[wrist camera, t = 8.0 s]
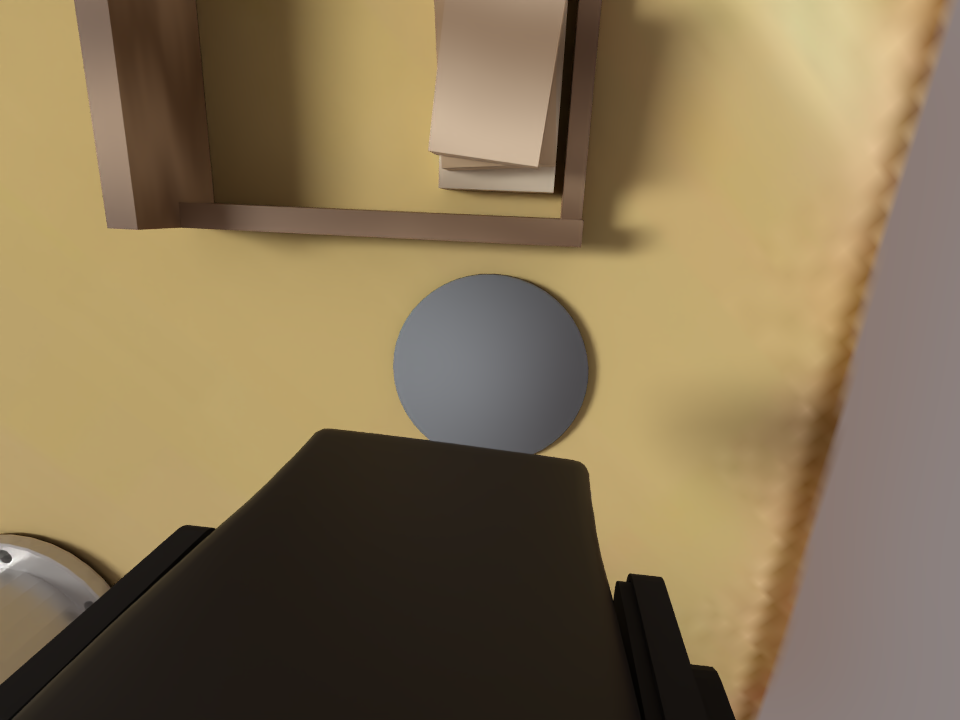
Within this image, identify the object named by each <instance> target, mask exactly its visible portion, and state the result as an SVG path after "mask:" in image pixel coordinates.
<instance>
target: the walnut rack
mask: <svg viewBox="0 0 960 720" xmlns="http://www.w3.org/2000/svg"><path fill="white" fill-rule="evenodd" d="M74 2H75V9H76V16H77V23H78V30H79V37H80V43H81V50H82V57H83V64H84V71H85V77H86V84H87V91H88V98H89V105H90V112H91V118H92V125H93V132H94V139H95V146H96V152H97V159H98V166H99V173H100V180H101V187H102V193H103V200H104V207H105V214H106V221H107V228H114V229H134V230H141V229H162V228H201V229H221V230H242V231H262V232H282V233H302V234H323V235H343V236H363V237H383V238H404V239H424V240H444V241H464V242H485V243H505V244H525V245H546V246H566V247H581V244H582V233H583V222H584V220H582V212H583V201H584V190H585V179H586V168H587V157H588V146H589V135H590V124H591V113H592V102H593V91H594V80H595V69H596V58H597V47H598V36H599V25H600V14H601V3H602V0H578V4H577V16H576V28H575V41H574V53H573V66H572V78H571V91H570V103H569V116H568V128H567V141H566V153H565V166H564V178H563V191H562V203H561V216H560V218H538V217H516V216H493V215H471V214H448V213H426V212H403V211H381V210H358V209H336V208H313V207H290V206H268V205H245V204H223V203H214V193H213V182H212V171H211V161H210V150H209V139H208V128H207V117H206V106H205V95H204V84H203V73H202V63H201V52H200V41H199V30H198V19H197V8H196V0H74Z"/></svg>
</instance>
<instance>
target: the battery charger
mask: <svg viewBox="0 0 960 720" xmlns="http://www.w3.org/2000/svg"><path fill="white" fill-rule="evenodd" d="M12 720H641V716H640V711H639V707H638V703H637V698H636V694H635V690H634V685H633V681H632V677H631V673H630V669H629V664H628V660H627V656H626V652H625V648H624V644H623V640H622V635H621V631H620V627H619V623H618V619H617V615H616V611H615V607H614V603H613V598H612V595H611V591H610V587H609V584H608V580H607V576H606V573H605V569H604V565H603V561H602V558H601V553H600V548H599V543H598V538H597V533H596V526H595V519H594V512H593V507H592V500H591V491H590V482H589V473H588V471H587V468H586V467H585V465H583V464H582V463H581V462H578V461H574V460H569V459H562V458H555V457H548V456H541V455H535V454H528V453H521V452H513V451H506V450H498V449H491V448H484V447H476V446H469V445H462V444H454V443H447V442H438V441H430V440H422V439H414V438H406V437H398V436H390V435H382V434H373V433H364V432H356V431H347V430H338V429H322V430H320V431H318V432H316V433H315V434H314V435H313V436H312V437H311V438H310V439H309V441H308V442H307V443H306V444H305V445H304V446H303V447H302V448H301V449H300V450H299V451H298V452H297V453H296V454H295V456H294V457H293V458H292V459H291V460H290V461H288V462H287V463H286V464H285V465H284V466H283V467H282V468H281V469H280V470H279V471H278V472H277V474H276V475H275V476H274V477H273V478H272V479H271V480H270V481H269V482H268V483H267V484H266V485H265V486H263V487H262V488H261V489H260V490H259V491H258V492H257V493H256V494H255V495H254V496H253V497H252V498H251V499H250V500H249V501H247V502H246V503H245V504H244V505H243V506H242V507H241V508H240V509H238V510H237V511H236V512H235V513H234V514H233V515H231V516H230V517H229V518H228V519H227V520H226V521H225V522H223V523H222V524H221V525H220V526H219V527H218V528H216V529H215V530H214V531H213V532H212V533H211V534H210V535H209V536H208V537H206V538H205V539H204V540H203V541H202V542H201V543H200V544H199V545H198V546H196V547H195V548H194V549H193V550H192V551H191V552H190V553H189V554H187V555H186V556H185V557H184V558H183V559H182V560H181V561H180V562H179V563H178V564H177V565H175V566H174V567H173V568H172V569H171V570H170V571H169V572H168V573H166V574H165V575H164V576H163V577H162V578H161V579H160V580H159V581H158V582H157V583H155V584H154V585H153V586H152V587H151V588H150V589H149V590H148V591H147V592H146V593H144V594H143V595H142V596H141V597H140V598H139V599H138V600H137V601H136V602H135V603H133V604H132V605H131V606H130V607H129V608H128V609H127V610H126V611H125V612H124V613H122V614H121V615H120V616H119V617H118V618H117V619H116V620H115V621H114V622H113V623H112V624H111V625H110V626H109V627H108V628H107V629H105V630H104V631H103V632H102V633H101V634H100V635H99V636H98V637H97V638H96V639H95V640H94V641H93V642H92V643H91V644H90V645H89V646H87V647H86V648H85V649H84V650H83V651H82V652H81V653H80V654H79V655H78V656H77V657H76V658H75V659H74V660H73V661H72V662H71V663H69V664H68V665H67V666H66V667H65V668H64V669H63V670H62V671H61V672H60V673H59V674H58V675H57V676H56V677H55V678H54V679H53V680H52V681H51V682H50V683H48V684H47V685H46V686H45V687H44V688H43V689H42V690H41V691H40V692H39V693H38V694H37V695H36V696H35V697H34V698H33V699H32V700H31V701H30V702H29V703H28V704H27V705H26V706H25V707H24V708H23V709H22V710H21V711H20V712H19V713H18V714H17V715H16V716H15V717H14V718H13V719H12Z"/></svg>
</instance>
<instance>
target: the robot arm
mask: <svg viewBox="0 0 960 720" xmlns="http://www.w3.org/2000/svg"><path fill="white" fill-rule="evenodd" d="M214 530H215V528H209V527H200V526H191V525H185V526H182V527H180V528H179V529H178V530H176V531H175V532H174V533H173V534H172V535H171V536H170V537H168V538H167V539H166V540H165V541H164V542H163V543H162V544H160V545H159V546H158V547H157V548H156V549H155V550H154V551H152V552H151V553H150V554H149V555H148V556H147V557H146V558H144V559H143V560H142V561H141V562H140V563H139V564H138V565H136V566H135V567H134V568H133V569H132V570H131V571H130V572H128V573H127V574H126V575H125V576H124V577H123V578H122V579H120V580H119V581H118V582H117V583H116V584H115V585H114V586H112V587H110V586H109V585H108V584H107V583H106V581H105V580H104V579H103V578H102V577H101V576H100V575H99V574H97V573H96V572H95V571H94V570H93V569H92V568H91V567H90V566H89V565H87V564H86V563H84V562H83V561H81V560H80V559H79V558H77V557H76V556H74V555H73V554H71V553H69V552H67V551H65V550H63V549H61V548H59V547H57V546H55V545H53V544H51V543H48V542H44V541H41V540H38V539H35V538H32V537H26V536H19V535H13V534H9V535H0V720H12V719H13V718H14V717H15V716H16V715H17V714H18V713H19V712H20V711H21V710H22V709H23V708H24V707H25V706H26V705H27V704H28V703H29V702H30V701H31V700H32V699H33V698H34V697H35V696H36V695H37V694H38V693H39V692H40V691H41V690H42V689H43V688H44V687H45V686H46V685H47V684H48V683H50V682H51V681H52V680H53V679H54V678H55V677H56V676H57V675H58V674H59V673H60V672H61V671H62V670H63V669H64V668H65V667H66V666H67V665H68V664H69V663H71V662H72V661H73V660H74V659H75V658H76V657H77V656H78V655H79V654H80V653H81V652H82V651H83V650H84V649H85V648H86V647H87V646H89V645H90V644H91V643H92V642H93V641H94V640H95V639H96V638H97V637H98V636H99V635H100V634H101V633H102V632H103V631H104V630H105V629H107V628H108V627H109V626H110V625H111V624H112V623H113V622H114V621H115V620H116V619H117V618H118V617H119V616H120V615H121V614H122V613H124V612H125V611H126V610H127V609H128V608H129V607H130V606H131V605H132V604H133V603H135V602H136V601H137V600H138V599H139V598H140V597H141V596H142V595H143V594H144V593H146V592H147V591H148V590H149V589H150V588H151V587H152V586H153V585H154V584H155V583H157V582H158V581H159V580H160V579H161V578H162V577H163V576H164V575H165V574H166V573H168V572H169V571H170V570H171V569H172V568H173V567H174V566H175V565H177V564H178V563H179V562H180V561H181V560H182V559H183V558H184V557H185V556H186V555H187V554H189V553H190V552H191V551H192V550H193V549H194V548H195V547H196V546H198V545H199V544H200V543H201V542H202V541H203V540H204V539H205V538H206V537H208V536H209V535H210V534H211V533H212V532H213V531H214ZM613 603H614V607H615V611H616V615H617V619H618V623H619V627H620V631H621V635H622V640H623V644H624V648H625V652H626V656H627V660H628V664H629V669H630V673H631V677H632V681H633V685H634V690H635V694H636V698H637V703H638V707H639V711H640V716H641V720H736V719H735V717H734V714H733V711H732V709H731V706H730V703H729V701H728V698H727V695H726V692H725V690H724V687H723V684H722V682H721V679H720V677H719V675H718V673H717V671H716V670H715V669H714V668H713V667H708V666H700V665H692V664H690V661H689V658H688V655H687V652H686V649H685V646H684V642H683V639H682V636H681V633H680V630H679V627H678V623H677V620H676V617H675V614H674V611H673V608H672V605H671V601H670V598H669V595H668V592H667V589H666V586H665V583H664V580H663V578H662V577H657V576H648V575H639V574H629V575H628V577H627V582H623V581H617V582H616V586H615V592H614V600H613Z"/></svg>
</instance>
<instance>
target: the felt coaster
mask: <svg viewBox="0 0 960 720" xmlns="http://www.w3.org/2000/svg"><path fill="white" fill-rule="evenodd" d="M393 369H394V380H395V385H396V390H397V393H398V396H399V399H400V401H401V403H402V405H403V407H404V410H405V412H406V413H407V415H408V416H409V418H410V419H411V421H412V422H413V423H414V425H415V426H416V427H417V428H418V429H419V430H420V432H422V433H423V434H424V435H425V436H426V437H427V438H428V439H429V440H431V441H438V442H447V443H454V444H462V445H469V446H476V447H484V448H491V449H498V450H506V451H513V452H521V453H528V454H534V453H536V452H538V451H540V450H542V449H544V448H546V447H547V446H549V445H550V444H552V443H553V442H554V441H555V440H556V439H558V438H559V437H560V436H561V435H562V434H563V433H564V432H565V431H566V430H567V428H568V427H569V426H570V425H571V423H572V422H573V420H574V419H575V417H576V416H577V414H578V412H579V410H580V407H581V405H582V403H583V400H584V397H585V393H586V388H587V383H588V361H587V354H586V350H585V346H584V342H583V339H582V337H581V334H580V332H579V329H578V327H577V326H576V324H575V322H574V320H573V319H572V317H571V316H570V315H569V313H568V312H567V311H566V309H565V308H564V307H563V306H562V305H561V304H560V303H559V302H558V301H557V300H556V299H555V298H554V297H552V296H551V295H550V294H548V293H547V292H546V291H544V290H543V289H541V288H539V287H537V286H536V285H534V284H532V283H529V282H527V281H524V280H522V279H519V278H515V277H511V276H507V275H499V274H478V275H471V276H466V277H463V278H459V279H456V280H454V281H451V282H449V283H447V284H444V285H443V286H441V287H439V288H438V289H436V290H435V291H433V292H432V293H430V294H429V295H428V296H427V297H425V298H424V299H423V300H422V301H421V302H420V303H419V304H418V305H417V306H416V307H415V308H414V309H413V311H412V312H411V314H410V315H409V316H408V318H407V319H406V321H405V323H404V325H403V327H402V329H401V331H400V334H399V337H398V339H397V342H396V347H395V352H394V363H393Z"/></svg>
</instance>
